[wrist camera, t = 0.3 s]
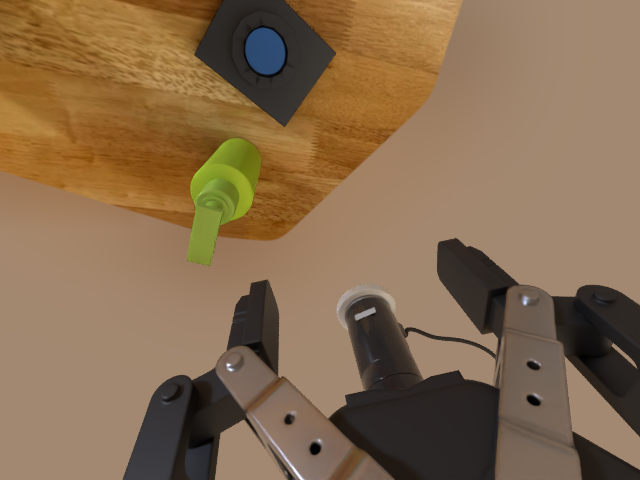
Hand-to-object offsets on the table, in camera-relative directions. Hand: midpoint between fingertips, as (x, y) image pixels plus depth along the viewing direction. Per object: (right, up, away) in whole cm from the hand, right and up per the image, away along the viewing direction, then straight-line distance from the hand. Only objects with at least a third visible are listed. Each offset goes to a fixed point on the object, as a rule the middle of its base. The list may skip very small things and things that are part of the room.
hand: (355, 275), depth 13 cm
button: (-7, +22, +17) cm, 29 cm away
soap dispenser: (-13, +12, +26) cm, 32 cm away
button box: (-8, +23, +20) cm, 32 cm away
